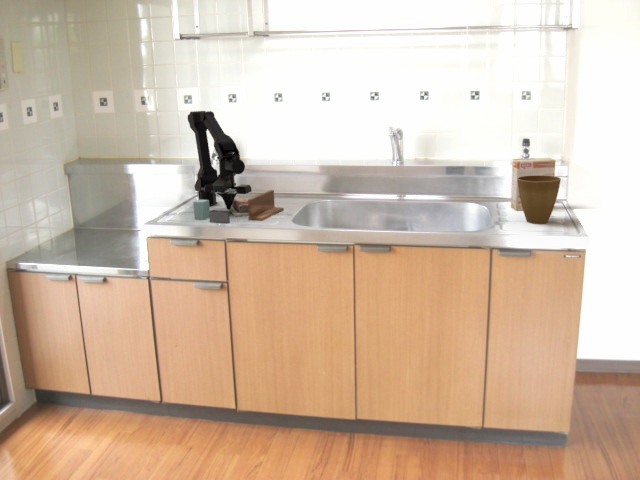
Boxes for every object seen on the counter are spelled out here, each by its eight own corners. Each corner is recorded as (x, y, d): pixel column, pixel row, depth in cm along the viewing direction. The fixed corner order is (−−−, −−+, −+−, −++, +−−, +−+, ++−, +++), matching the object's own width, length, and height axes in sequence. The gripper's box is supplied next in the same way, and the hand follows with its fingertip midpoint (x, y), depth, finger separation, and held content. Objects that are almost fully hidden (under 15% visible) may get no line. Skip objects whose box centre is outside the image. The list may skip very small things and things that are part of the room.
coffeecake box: (547, 205, 284) (549, 157, 279) (553, 209, 277) (556, 159, 272) (510, 207, 284) (512, 158, 279) (515, 210, 277) (517, 161, 272)
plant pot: (559, 218, 262) (562, 175, 258) (556, 227, 249) (559, 182, 245) (518, 215, 268) (520, 174, 264) (512, 224, 255) (514, 180, 251)
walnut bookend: (248, 219, 273) (247, 199, 271) (271, 209, 291) (270, 190, 289) (261, 220, 271) (261, 200, 269) (283, 210, 289) (282, 190, 287)
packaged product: (227, 197, 294) (250, 196, 297) (227, 209, 295) (251, 207, 298) (234, 206, 277) (259, 204, 280) (235, 218, 279) (260, 216, 281)
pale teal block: (194, 219, 276) (193, 201, 274) (201, 216, 280) (200, 199, 278) (203, 220, 274) (202, 202, 272) (210, 217, 279) (209, 199, 277)
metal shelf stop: (209, 221, 271) (209, 211, 270) (211, 221, 272) (210, 211, 271) (228, 223, 268) (227, 212, 267) (229, 222, 269) (229, 212, 268)
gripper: (195, 173, 280) (198, 212, 284) (238, 175, 273) (240, 214, 277) (210, 169, 290) (212, 206, 294) (251, 170, 283) (253, 209, 287)
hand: (228, 209), depth 287 cm, fingers closed
